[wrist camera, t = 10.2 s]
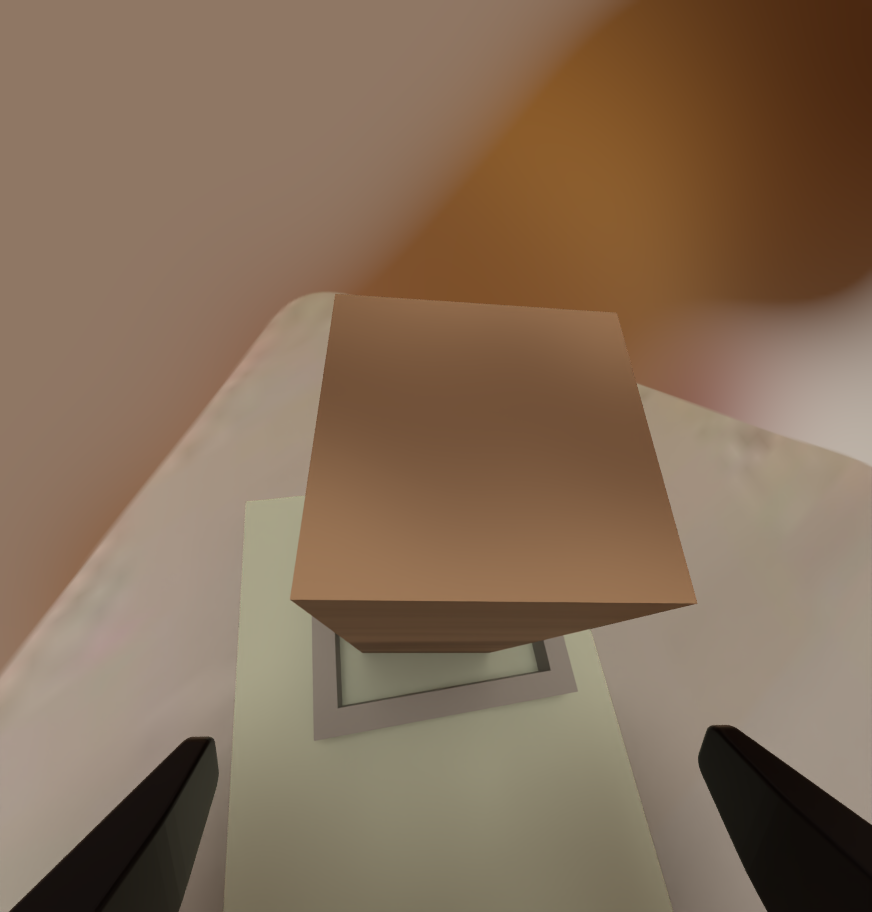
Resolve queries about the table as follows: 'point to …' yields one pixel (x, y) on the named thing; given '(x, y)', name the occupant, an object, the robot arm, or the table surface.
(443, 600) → the walnut pillar
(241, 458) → the table surface
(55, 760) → the table surface
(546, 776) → the footing plate
